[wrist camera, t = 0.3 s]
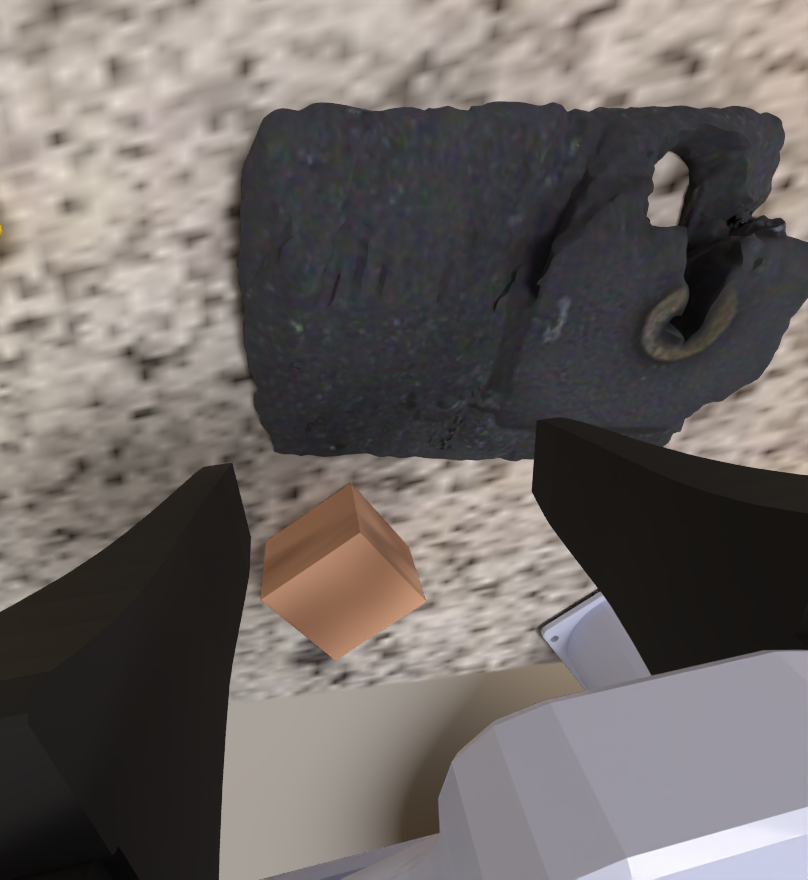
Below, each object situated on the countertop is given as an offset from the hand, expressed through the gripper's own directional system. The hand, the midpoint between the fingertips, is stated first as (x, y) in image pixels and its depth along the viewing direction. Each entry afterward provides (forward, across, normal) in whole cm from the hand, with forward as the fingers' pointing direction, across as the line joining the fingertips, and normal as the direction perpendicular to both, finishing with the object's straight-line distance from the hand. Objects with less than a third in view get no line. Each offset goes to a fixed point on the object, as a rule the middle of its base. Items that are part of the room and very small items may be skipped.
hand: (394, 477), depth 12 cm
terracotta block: (+10, +2, +9) cm, 14 cm away
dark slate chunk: (+10, -7, -2) cm, 13 cm away
